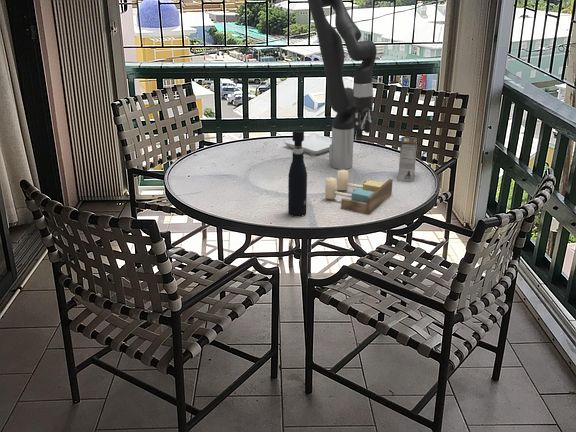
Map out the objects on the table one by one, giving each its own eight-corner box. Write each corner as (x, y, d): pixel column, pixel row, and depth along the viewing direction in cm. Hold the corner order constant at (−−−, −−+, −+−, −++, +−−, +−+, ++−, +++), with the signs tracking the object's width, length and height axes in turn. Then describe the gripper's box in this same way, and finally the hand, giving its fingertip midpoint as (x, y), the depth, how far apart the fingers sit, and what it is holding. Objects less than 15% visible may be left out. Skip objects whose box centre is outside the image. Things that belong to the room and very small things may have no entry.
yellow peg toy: (334, 191, 240) (335, 172, 237) (340, 187, 244) (340, 168, 241) (379, 199, 232) (381, 180, 229) (384, 195, 236) (386, 176, 233)
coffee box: (398, 173, 260) (401, 136, 254) (414, 174, 259) (417, 137, 253) (397, 180, 252) (400, 142, 246) (413, 181, 251) (417, 143, 245)
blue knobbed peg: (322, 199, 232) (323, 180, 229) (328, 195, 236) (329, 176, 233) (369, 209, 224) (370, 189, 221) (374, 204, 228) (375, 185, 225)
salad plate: (313, 139, 307) (313, 132, 305) (346, 148, 293) (347, 141, 291) (282, 148, 293) (282, 141, 292) (315, 158, 279) (315, 151, 278)
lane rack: (340, 208, 225) (341, 192, 223) (364, 189, 243) (365, 174, 241) (369, 214, 220) (370, 198, 218) (391, 194, 238) (392, 179, 236)
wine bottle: (287, 210, 223) (287, 128, 212) (305, 209, 224) (306, 128, 212) (289, 217, 218) (289, 133, 206) (307, 216, 218) (308, 133, 206)
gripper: (361, 90, 249) (361, 130, 255) (346, 97, 237) (347, 139, 243) (378, 91, 245) (378, 131, 251) (365, 98, 234) (365, 140, 240)
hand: (363, 135), depth 247 cm, fingers open, 8 cm apart
